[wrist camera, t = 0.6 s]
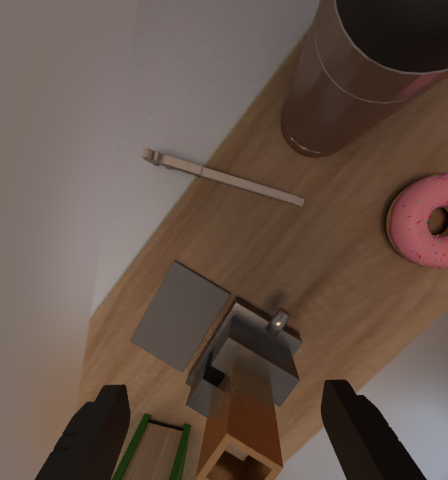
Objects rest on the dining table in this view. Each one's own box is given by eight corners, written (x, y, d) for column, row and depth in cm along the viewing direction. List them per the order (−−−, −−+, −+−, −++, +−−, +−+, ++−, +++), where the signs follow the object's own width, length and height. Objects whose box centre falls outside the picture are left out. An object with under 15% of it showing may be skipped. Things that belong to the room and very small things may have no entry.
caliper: (155, 165, 31) (132, 154, 25) (157, 157, 31) (134, 144, 24) (301, 206, 30) (316, 205, 23) (304, 198, 29) (319, 195, 23)
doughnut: (360, 229, 29) (379, 231, 25) (423, 157, 27) (454, 147, 23) (427, 280, 29) (457, 292, 25) (494, 212, 27) (539, 212, 23)
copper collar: (232, 364, 25) (226, 433, 17) (271, 387, 25) (283, 468, 17) (210, 397, 26) (195, 478, 18) (248, 420, 26) (249, 511, 18)
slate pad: (175, 260, 32) (173, 261, 31) (230, 293, 32) (230, 294, 31) (132, 338, 34) (129, 340, 33) (183, 369, 34) (182, 372, 33)
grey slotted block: (247, 279, 31) (248, 325, 18) (310, 316, 31) (357, 390, 18) (189, 373, 34) (153, 472, 21) (246, 408, 33) (247, 530, 21)
